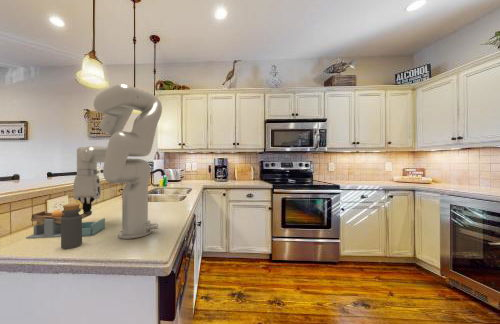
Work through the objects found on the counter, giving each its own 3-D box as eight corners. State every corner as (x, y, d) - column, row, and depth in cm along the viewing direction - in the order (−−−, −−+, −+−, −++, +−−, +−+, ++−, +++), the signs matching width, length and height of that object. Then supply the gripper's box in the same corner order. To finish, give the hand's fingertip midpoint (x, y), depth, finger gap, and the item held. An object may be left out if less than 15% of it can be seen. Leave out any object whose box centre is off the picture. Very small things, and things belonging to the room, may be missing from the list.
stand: (81, 229, 95) (81, 213, 95) (67, 236, 86) (66, 219, 86) (44, 231, 92) (44, 215, 92) (26, 238, 84) (26, 220, 84)
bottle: (69, 249, 73) (69, 206, 73) (56, 248, 74) (56, 205, 74) (86, 243, 79) (86, 203, 79) (73, 242, 80) (73, 202, 80)
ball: (54, 210, 91) (57, 218, 91) (47, 212, 87) (50, 220, 87) (62, 207, 91) (65, 215, 91) (56, 209, 88) (60, 217, 88)
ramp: (92, 217, 103) (93, 209, 103) (70, 228, 87) (71, 218, 87) (58, 214, 100) (60, 206, 101) (30, 224, 85) (31, 214, 85)
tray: (104, 228, 97) (104, 218, 97) (92, 235, 87) (92, 224, 87) (82, 229, 95) (82, 219, 95) (67, 237, 85) (66, 225, 85)
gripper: (108, 172, 106) (108, 209, 106) (74, 172, 103) (74, 210, 104) (99, 173, 98) (99, 212, 98) (63, 173, 96) (63, 214, 96)
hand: (87, 211), depth 101 cm, fingers closed
